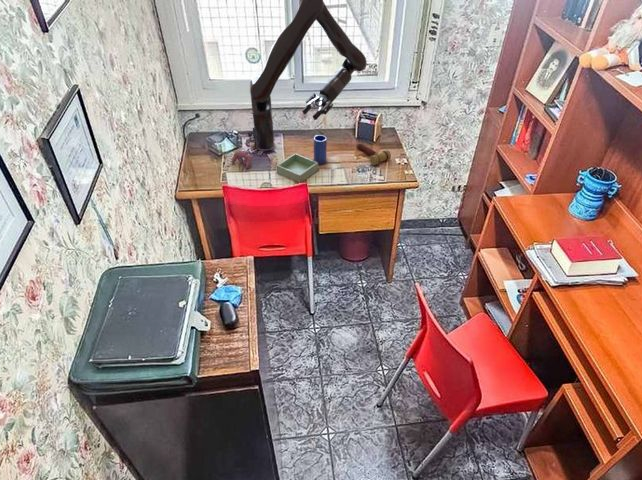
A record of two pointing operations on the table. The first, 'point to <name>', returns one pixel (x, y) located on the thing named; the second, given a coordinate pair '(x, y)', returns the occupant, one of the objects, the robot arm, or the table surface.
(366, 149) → the gavel
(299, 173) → the bin
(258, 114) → the robot arm
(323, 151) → the pencil cup
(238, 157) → the video game controller
